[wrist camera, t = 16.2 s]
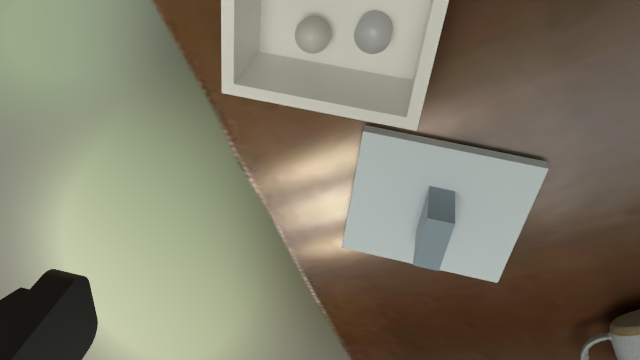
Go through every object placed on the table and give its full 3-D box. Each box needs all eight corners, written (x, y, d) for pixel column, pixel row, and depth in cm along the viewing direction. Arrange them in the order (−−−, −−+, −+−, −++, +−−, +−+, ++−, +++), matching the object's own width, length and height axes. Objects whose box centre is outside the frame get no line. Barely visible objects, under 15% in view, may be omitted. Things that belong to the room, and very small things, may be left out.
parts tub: (462, -82, 40) (463, -60, 33) (421, 87, 48) (416, 131, 42) (256, -113, 41) (220, -98, 35) (251, 55, 50) (221, 92, 43)
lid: (545, 154, 50) (557, 202, 44) (496, 267, 59) (500, 319, 53) (366, 119, 51) (355, 160, 46) (345, 233, 60) (333, 280, 54)
